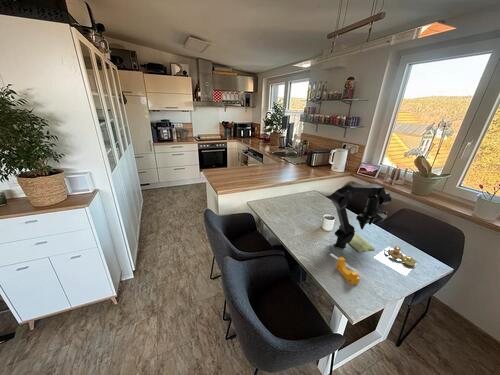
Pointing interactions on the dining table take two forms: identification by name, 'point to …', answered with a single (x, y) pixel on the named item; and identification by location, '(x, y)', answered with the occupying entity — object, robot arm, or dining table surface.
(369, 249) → the washcloth
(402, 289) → the dining table surface
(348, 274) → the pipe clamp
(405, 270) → the carrier plate
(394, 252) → the bronze flanged knob
